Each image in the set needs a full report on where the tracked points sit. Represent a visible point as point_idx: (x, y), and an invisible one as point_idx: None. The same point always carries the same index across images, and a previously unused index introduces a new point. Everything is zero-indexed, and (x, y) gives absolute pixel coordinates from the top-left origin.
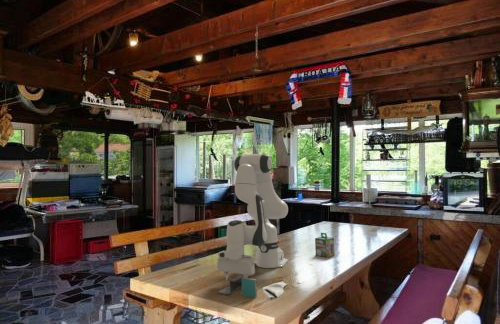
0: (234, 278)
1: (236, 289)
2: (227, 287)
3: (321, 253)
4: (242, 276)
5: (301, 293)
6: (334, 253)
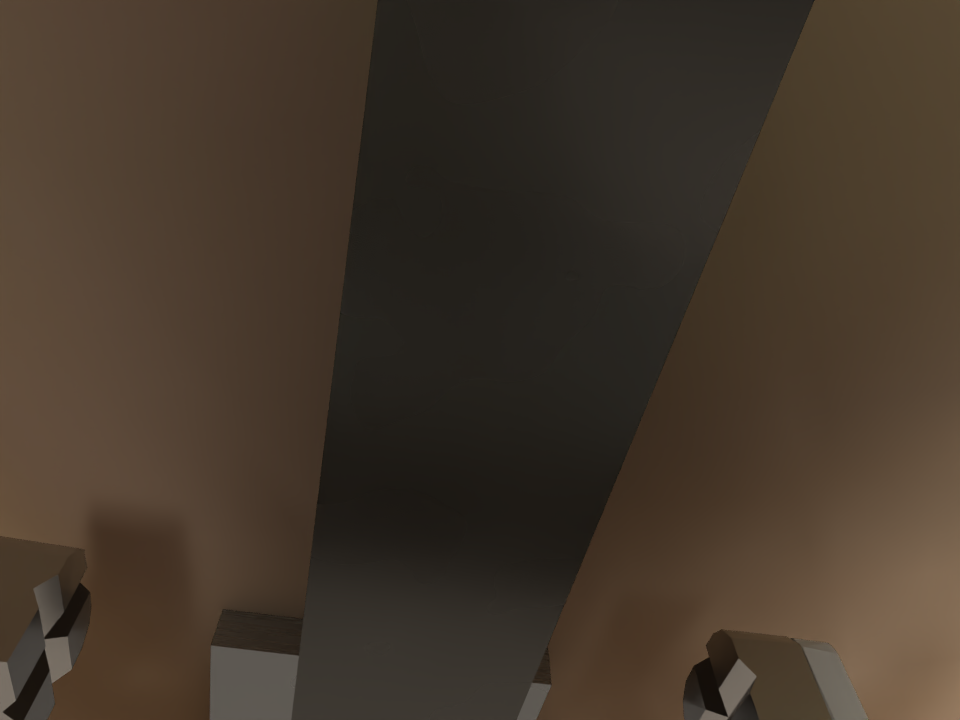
0: (311, 700)
1: (541, 702)
2: (255, 673)
3: None
4: (595, 402)
5: None
6: None
